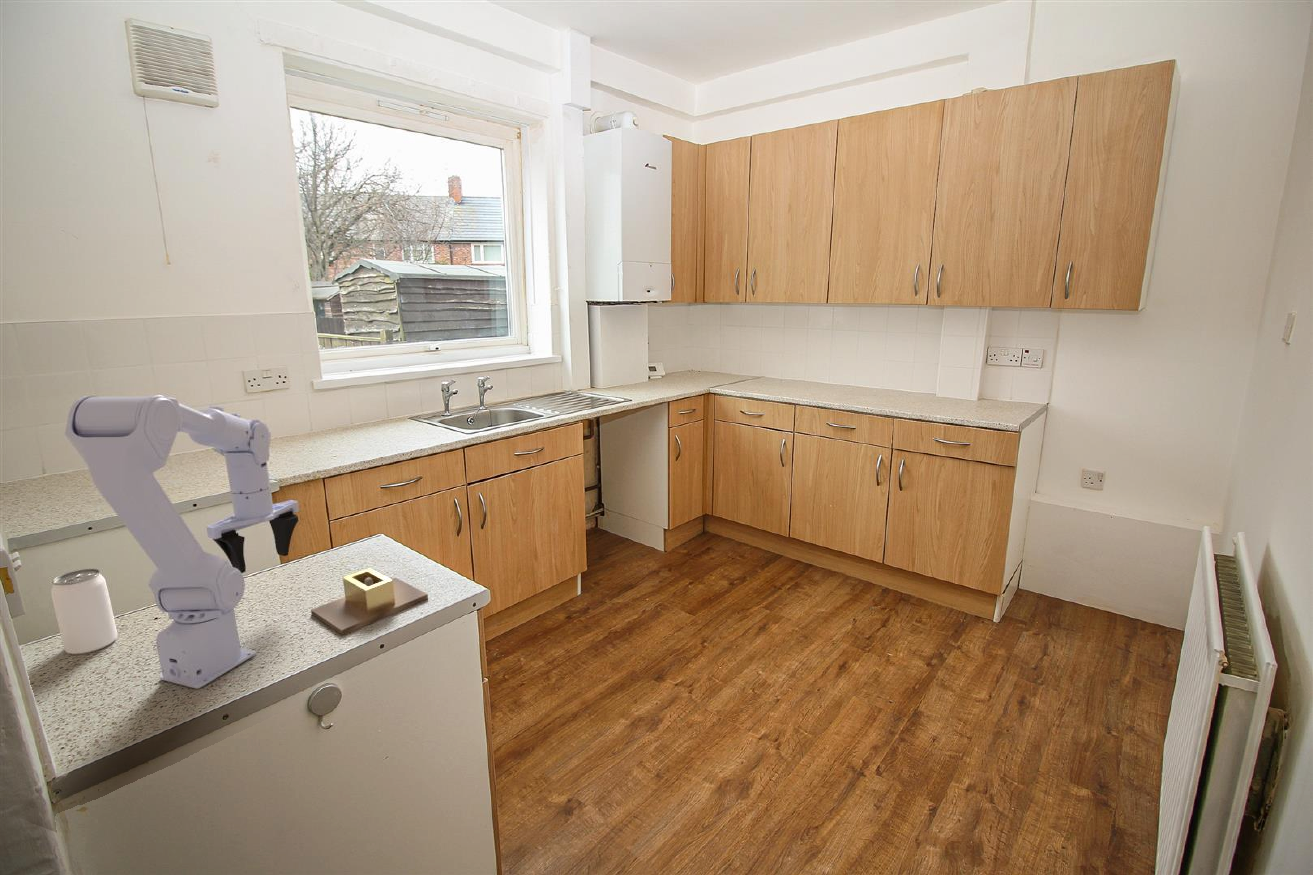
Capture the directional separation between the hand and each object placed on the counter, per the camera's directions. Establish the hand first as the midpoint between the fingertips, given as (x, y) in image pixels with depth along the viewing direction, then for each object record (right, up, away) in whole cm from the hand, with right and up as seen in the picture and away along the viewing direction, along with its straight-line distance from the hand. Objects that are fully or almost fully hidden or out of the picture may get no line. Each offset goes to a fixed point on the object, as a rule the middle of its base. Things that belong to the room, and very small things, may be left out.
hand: (262, 562), depth 110 cm
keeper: (+17, -9, +4) cm, 20 cm away
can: (-22, -12, -8) cm, 27 cm away
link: (+17, -8, +4) cm, 19 cm away
